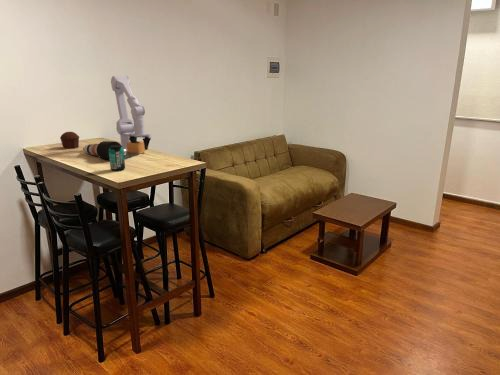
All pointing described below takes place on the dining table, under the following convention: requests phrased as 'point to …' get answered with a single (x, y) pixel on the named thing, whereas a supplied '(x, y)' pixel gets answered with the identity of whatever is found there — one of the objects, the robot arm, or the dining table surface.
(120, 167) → the beverage can
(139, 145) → the orange hollow block
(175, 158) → the dining table surface
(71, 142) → the muffin
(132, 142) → the robot arm
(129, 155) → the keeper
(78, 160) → the dining table surface
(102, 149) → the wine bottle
